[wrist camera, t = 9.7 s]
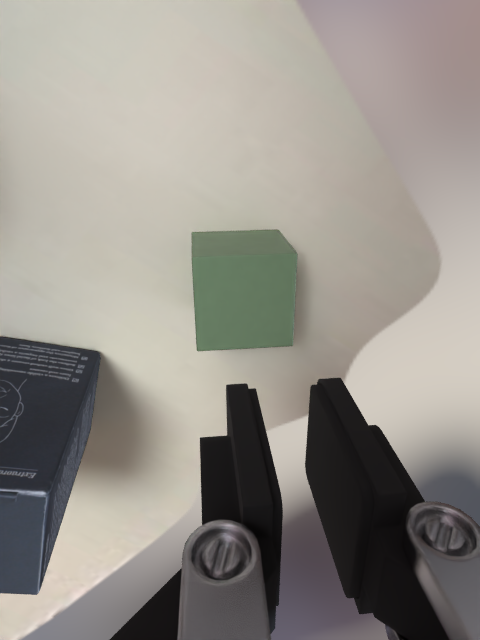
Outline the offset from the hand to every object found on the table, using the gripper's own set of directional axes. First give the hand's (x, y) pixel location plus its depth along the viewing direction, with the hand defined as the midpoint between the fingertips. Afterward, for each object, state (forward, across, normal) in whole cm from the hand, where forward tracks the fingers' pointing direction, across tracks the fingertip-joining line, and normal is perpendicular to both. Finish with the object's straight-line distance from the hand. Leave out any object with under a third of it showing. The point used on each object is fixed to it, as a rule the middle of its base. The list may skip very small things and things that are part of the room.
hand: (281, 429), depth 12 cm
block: (+13, 0, 0) cm, 13 cm away
